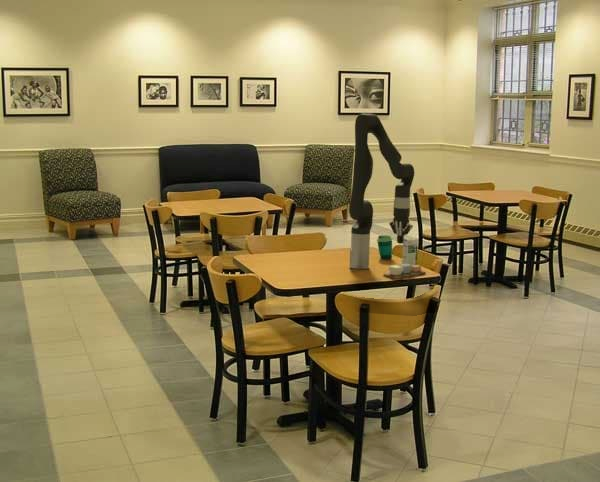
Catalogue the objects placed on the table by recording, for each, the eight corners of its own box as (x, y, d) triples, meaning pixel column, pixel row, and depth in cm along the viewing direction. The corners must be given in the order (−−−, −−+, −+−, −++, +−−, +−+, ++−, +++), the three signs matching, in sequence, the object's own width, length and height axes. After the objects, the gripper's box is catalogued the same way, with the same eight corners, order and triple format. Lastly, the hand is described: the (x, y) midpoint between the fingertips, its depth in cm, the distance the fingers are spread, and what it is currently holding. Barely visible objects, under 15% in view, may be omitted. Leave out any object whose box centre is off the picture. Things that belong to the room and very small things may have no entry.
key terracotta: (414, 274, 383) (414, 267, 383) (406, 272, 387) (406, 265, 386) (420, 273, 386) (421, 266, 386) (413, 271, 390) (413, 264, 389)
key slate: (405, 273, 379) (405, 266, 378) (397, 272, 382) (398, 264, 382) (412, 272, 382) (412, 265, 381) (404, 270, 386) (404, 263, 385)
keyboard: (397, 279, 373) (397, 277, 372) (383, 276, 379) (383, 273, 379) (425, 274, 386) (425, 271, 385) (411, 271, 392) (411, 268, 392)
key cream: (396, 275, 375) (396, 268, 374) (388, 273, 378) (388, 266, 378) (402, 274, 378) (403, 266, 377) (395, 272, 381) (395, 265, 381)
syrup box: (406, 268, 399) (407, 239, 396) (401, 265, 405) (402, 237, 402) (416, 267, 401) (418, 239, 398) (412, 265, 406) (413, 236, 404)
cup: (391, 260, 416) (392, 238, 414) (375, 260, 417) (376, 237, 415) (392, 258, 424) (393, 235, 422) (377, 257, 425) (377, 234, 423)
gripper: (418, 207, 372) (416, 244, 375) (396, 204, 381) (394, 240, 384) (407, 208, 367) (406, 246, 370) (385, 205, 376) (384, 242, 379)
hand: (400, 243), depth 377 cm, fingers closed
